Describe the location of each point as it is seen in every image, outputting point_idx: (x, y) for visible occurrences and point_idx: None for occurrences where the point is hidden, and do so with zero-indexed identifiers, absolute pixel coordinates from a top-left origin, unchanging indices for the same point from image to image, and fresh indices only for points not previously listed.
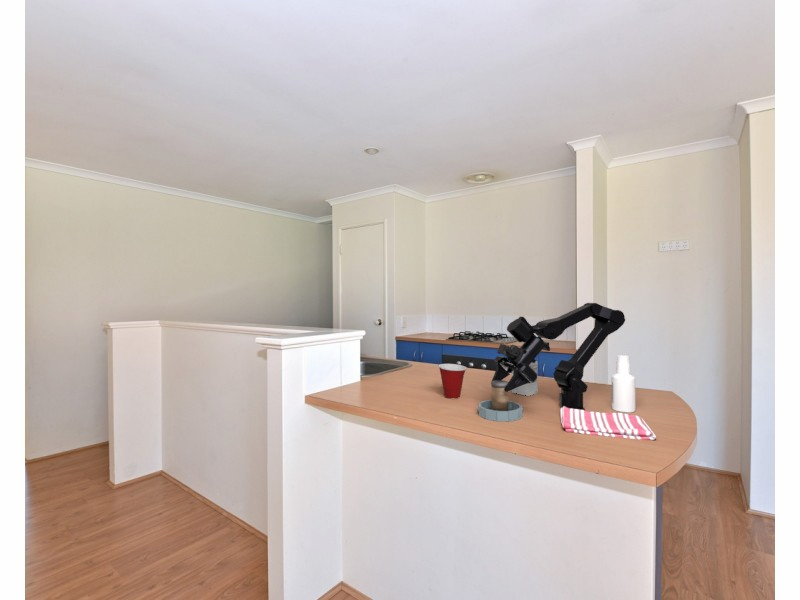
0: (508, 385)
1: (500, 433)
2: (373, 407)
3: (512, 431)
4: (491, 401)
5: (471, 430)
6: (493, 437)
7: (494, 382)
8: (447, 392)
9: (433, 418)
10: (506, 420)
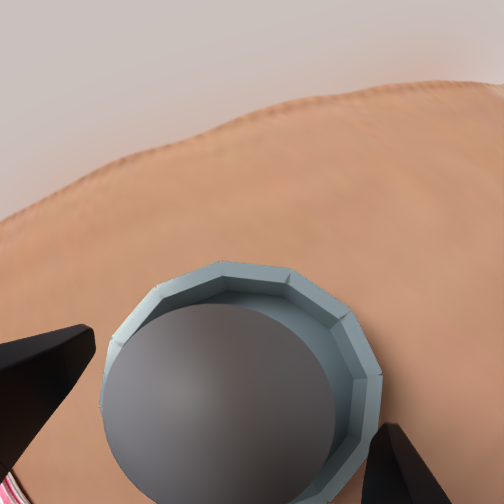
0: (32, 340)
1: (80, 215)
2: (479, 95)
3: (61, 263)
4: (359, 430)
5: (166, 155)
6: (81, 177)
7: (237, 341)
8: None
9: (348, 128)
10: None
